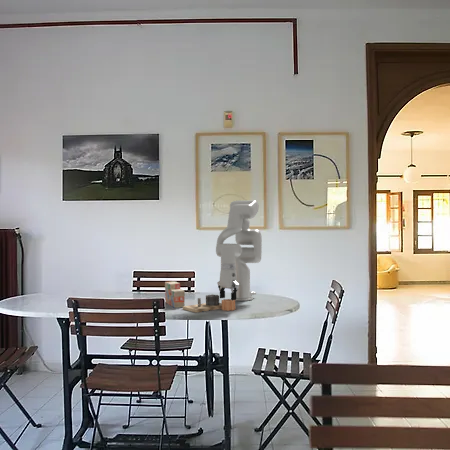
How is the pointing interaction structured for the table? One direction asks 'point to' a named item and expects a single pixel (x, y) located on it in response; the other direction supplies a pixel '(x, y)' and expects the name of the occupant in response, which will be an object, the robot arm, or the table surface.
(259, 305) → the table surface
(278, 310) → the table surface
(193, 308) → the gear board
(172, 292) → the stack of blocks
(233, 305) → the loose gear
